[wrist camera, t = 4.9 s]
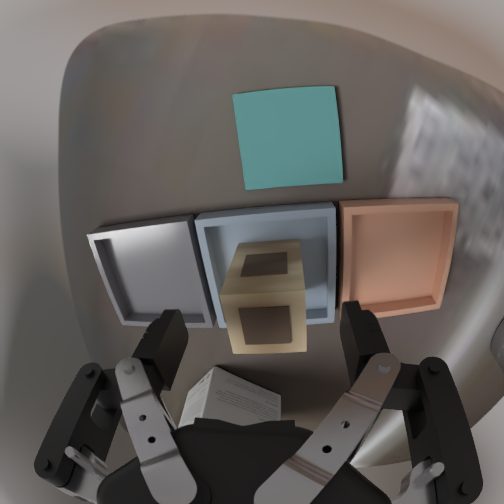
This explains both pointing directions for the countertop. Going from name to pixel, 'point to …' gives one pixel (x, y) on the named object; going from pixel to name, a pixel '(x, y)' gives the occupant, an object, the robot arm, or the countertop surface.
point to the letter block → (265, 298)
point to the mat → (289, 137)
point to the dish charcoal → (154, 270)
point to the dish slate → (273, 229)
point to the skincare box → (230, 400)
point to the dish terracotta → (395, 253)
